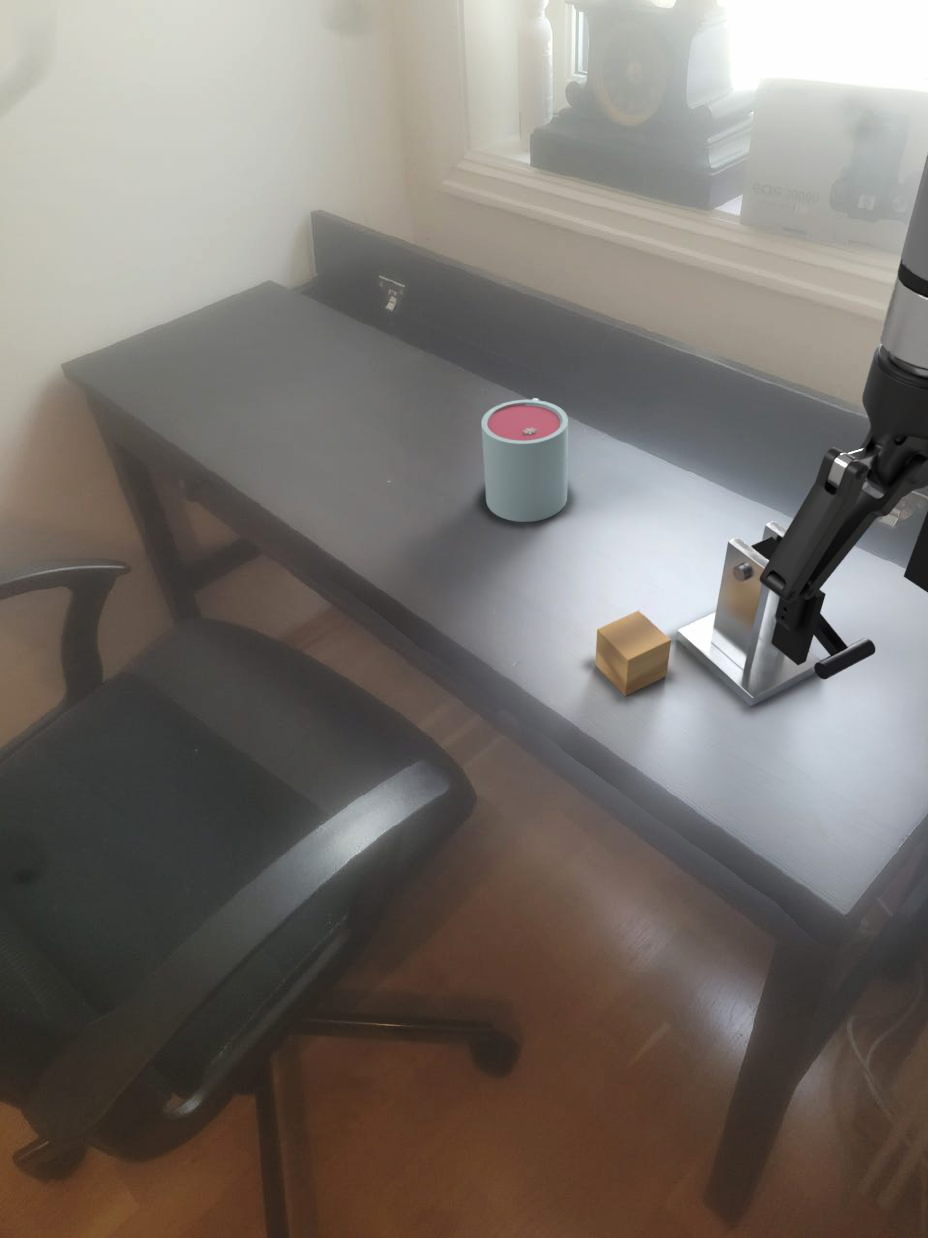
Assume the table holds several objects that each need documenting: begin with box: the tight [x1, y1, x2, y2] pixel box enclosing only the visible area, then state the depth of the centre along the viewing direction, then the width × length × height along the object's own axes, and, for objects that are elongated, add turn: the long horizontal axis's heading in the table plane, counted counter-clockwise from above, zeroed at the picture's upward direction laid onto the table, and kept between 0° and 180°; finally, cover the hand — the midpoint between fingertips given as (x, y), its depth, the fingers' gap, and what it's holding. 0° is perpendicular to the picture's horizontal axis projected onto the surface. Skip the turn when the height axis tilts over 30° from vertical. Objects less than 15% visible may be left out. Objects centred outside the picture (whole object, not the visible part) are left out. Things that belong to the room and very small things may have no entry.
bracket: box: [675, 520, 822, 708], centre depth 75 cm, size 10×8×13 cm
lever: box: [750, 536, 876, 680], centre depth 70 cm, size 12×5×2 cm, turn 29°
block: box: [594, 610, 672, 697], centre depth 77 cm, size 5×5×5 cm
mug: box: [480, 397, 569, 523], centre depth 97 cm, size 14×9×10 cm
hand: (856, 617), depth 65 cm, fingers open, 13 cm apart
